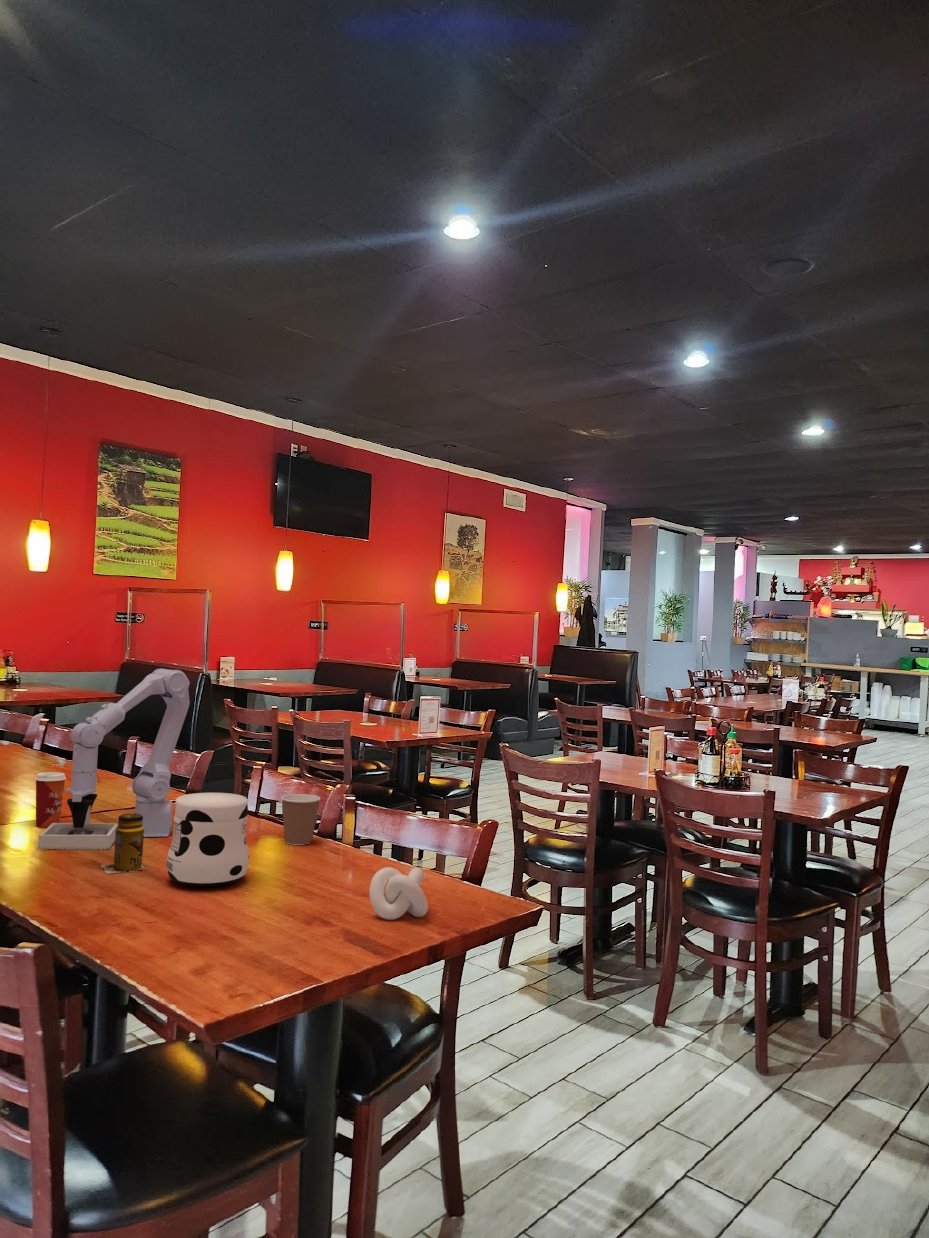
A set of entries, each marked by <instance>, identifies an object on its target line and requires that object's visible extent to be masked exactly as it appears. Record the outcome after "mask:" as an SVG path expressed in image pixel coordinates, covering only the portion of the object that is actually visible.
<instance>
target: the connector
mask: <svg viewBox="0 0 929 1238" xmlns="http://www.w3.org/2000/svg"><path fill="white" fill-rule="evenodd" d="M90 809H91V805H90V806H89V808H88V811H87V815H86V820H85V824H84V827H83V828H74V825H73V819H72V822H71V823H72V834H71V835H89V825H90V823H91V822H90V821H91V812H90ZM91 810H92V809H91Z"/></svg>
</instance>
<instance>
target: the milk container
mask: <svg viewBox="0 0 929 1238" xmlns="http://www.w3.org/2000/svg"><path fill="white" fill-rule="evenodd" d="M174 804H175V805H174V816H173V822H172V826H173V827H172V828H173V829H172V831H173V832H172V833H173V834H172V840H171V844H170V847H169V849H168V853H167V857H166V869H167V874H168V876H169V878H170V879H171V880H172V881H174V882H176V883H178V884H181V885H184V886H191V887H199V888H200V887H202V888H203V887H207V888H208V887H218V886H223V885H229V884H231V883H232V884H234V883H235V882H238V881H239V880H241V879H242V878H243V877H244V876H245V875H246V873H247V870H248V868H249V862H250V853H249V847H248V843H247V827H248V825H247V824H248V811H249V804H248V798H247V796H244V795H241V794H236V793H229V792H227V793H226V792H197V793H196V792H195V793H188V794H184V795H183V794H182V795H179V796H178V797H176V800H175V803H174Z"/></svg>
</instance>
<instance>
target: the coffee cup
mask: <svg viewBox="0 0 929 1238" xmlns="http://www.w3.org/2000/svg"><path fill="white" fill-rule="evenodd" d="M280 799H281V800H282V801H281V802H282V820H283V821H282V823H283V837H284V842H286V843H288V844H292V845H304V844H308V843H310V842H311V843H312V842H313V838H314V833H315V827H316V822H317V821H316V820H317V815H318V809H319V803H320V800H321V797H320V796H318V795H316V794H315V795H314V794H305V793H293V794H292V793H291V794H285V795H282V796H281V797H280ZM286 843H285V844H286ZM288 844H287V845H288ZM292 845H291V846H292Z"/></svg>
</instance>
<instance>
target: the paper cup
mask: <svg viewBox="0 0 929 1238" xmlns="http://www.w3.org/2000/svg"><path fill="white" fill-rule="evenodd" d="M65 780H67V777H66V774H65V773H64V772H58V771H46V772H38V773H37V774H36V777H34V781H35V827H36V828H39V829H42V828H43V829H47V828H48V827H49V826H50V825H51V824H52V823H60V821H61V814H62V804H63V796H64V790H65V789H64V788H65V782H66V781H65Z"/></svg>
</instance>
